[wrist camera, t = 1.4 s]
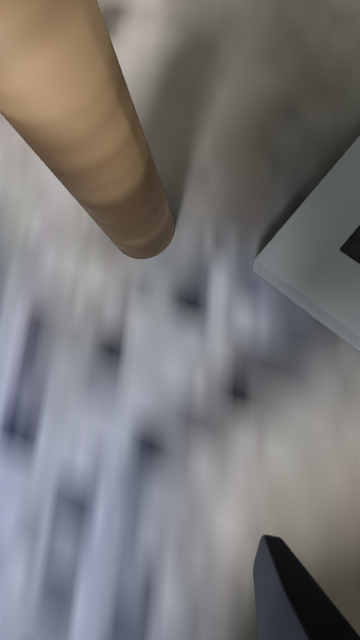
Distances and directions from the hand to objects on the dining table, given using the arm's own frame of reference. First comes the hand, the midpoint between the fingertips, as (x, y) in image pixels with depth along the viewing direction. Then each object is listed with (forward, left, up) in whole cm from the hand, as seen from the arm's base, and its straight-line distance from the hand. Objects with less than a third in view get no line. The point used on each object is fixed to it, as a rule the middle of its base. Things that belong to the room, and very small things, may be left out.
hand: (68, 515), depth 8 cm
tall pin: (+9, -8, -11) cm, 17 cm away
